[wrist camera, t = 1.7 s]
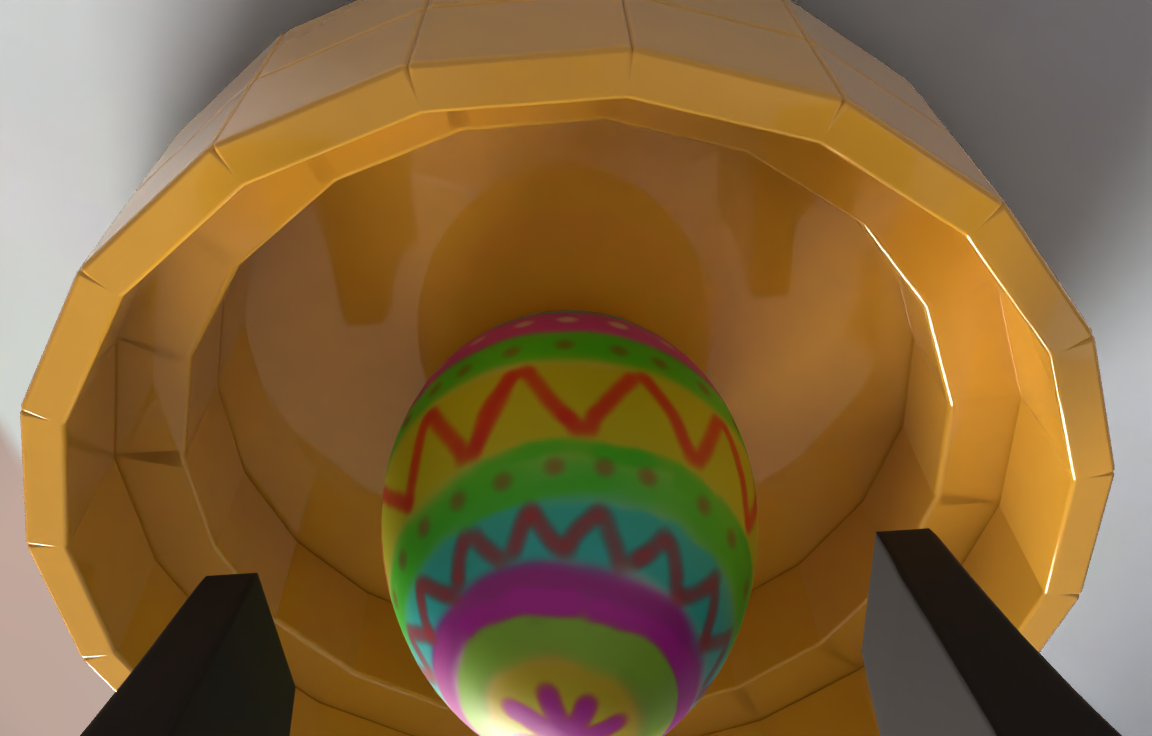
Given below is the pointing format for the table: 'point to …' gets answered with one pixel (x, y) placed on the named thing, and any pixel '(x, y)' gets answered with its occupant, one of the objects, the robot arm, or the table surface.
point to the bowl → (547, 283)
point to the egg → (569, 529)
